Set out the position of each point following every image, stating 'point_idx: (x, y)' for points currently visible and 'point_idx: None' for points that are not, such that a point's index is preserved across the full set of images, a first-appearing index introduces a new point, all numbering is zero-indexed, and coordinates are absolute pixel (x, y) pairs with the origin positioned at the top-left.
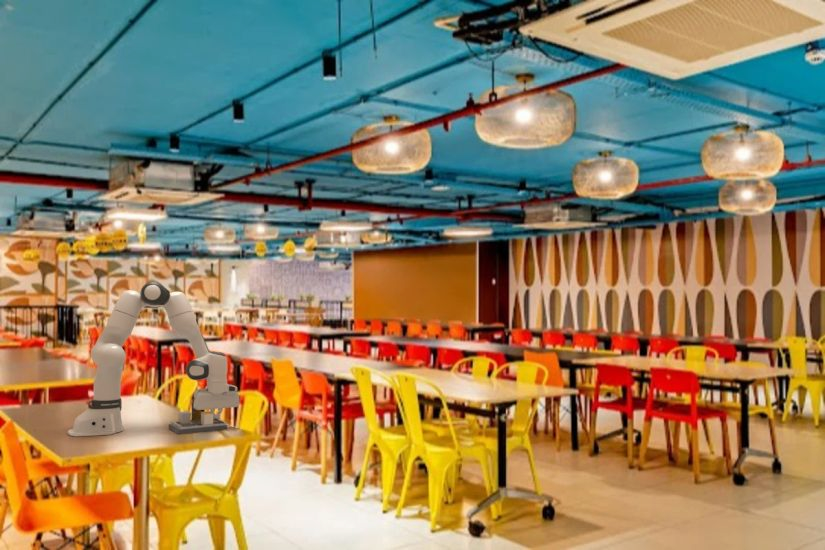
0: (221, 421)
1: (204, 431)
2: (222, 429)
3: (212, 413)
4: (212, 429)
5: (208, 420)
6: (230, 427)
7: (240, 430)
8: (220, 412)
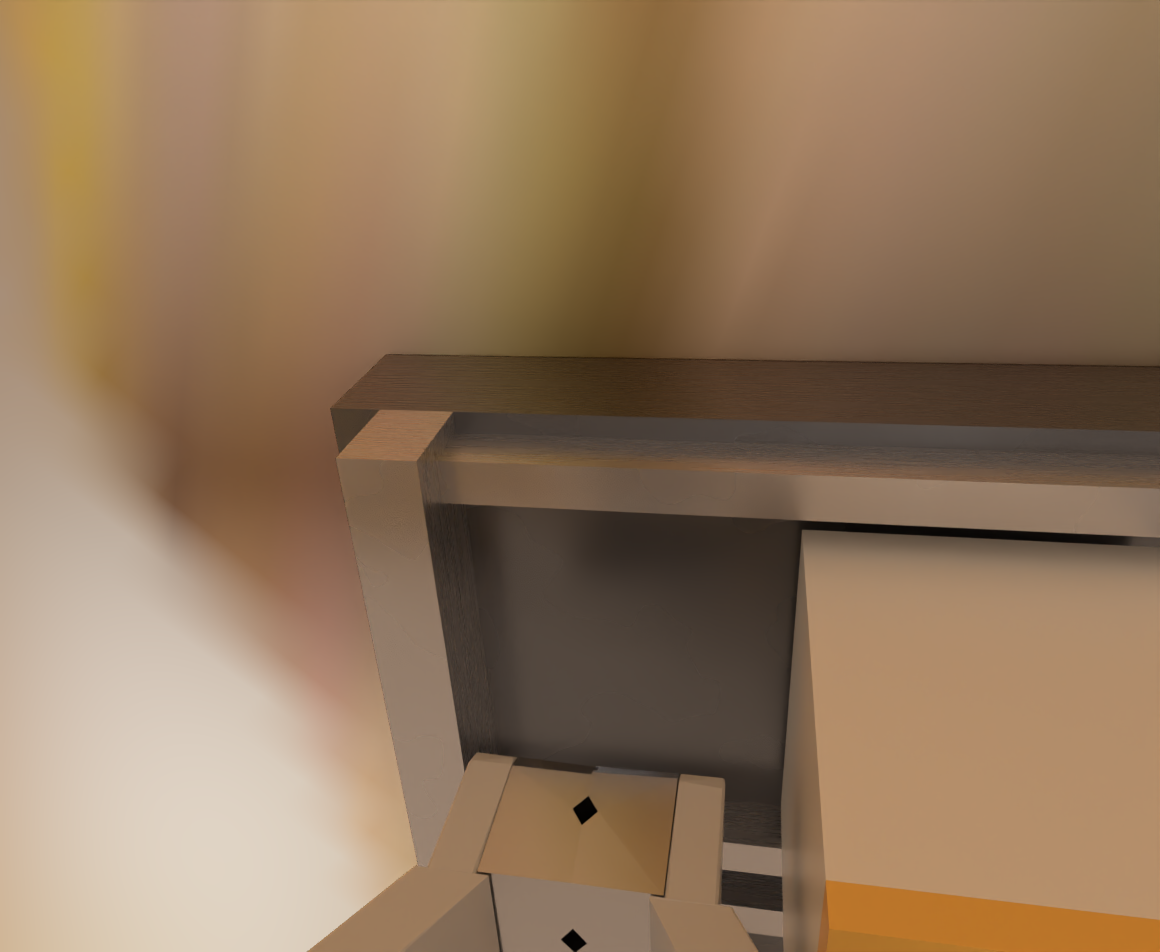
0: (453, 665)
1: (1144, 370)
2: (529, 361)
3: (887, 906)
4: (859, 381)
5: (1040, 658)
6: (271, 559)
7: (31, 2)
8: (378, 944)
